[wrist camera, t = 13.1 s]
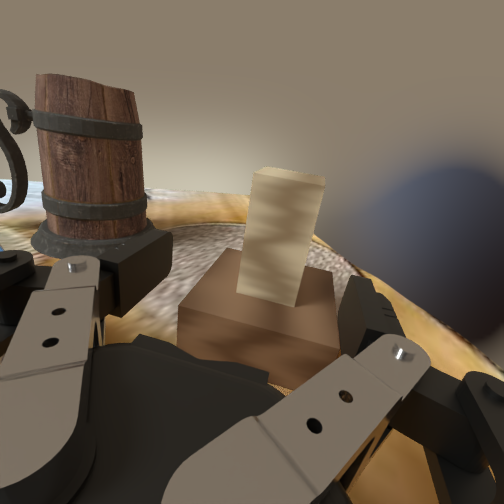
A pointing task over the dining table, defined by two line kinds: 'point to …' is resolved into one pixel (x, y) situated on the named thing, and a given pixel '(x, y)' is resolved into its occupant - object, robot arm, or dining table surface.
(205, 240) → the dining table surface
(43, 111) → the tankard
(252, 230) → the maple block
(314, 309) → the walnut block
